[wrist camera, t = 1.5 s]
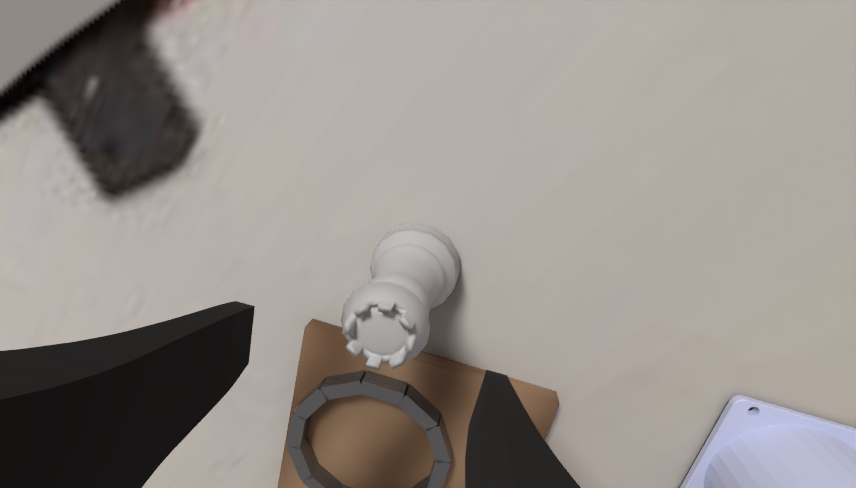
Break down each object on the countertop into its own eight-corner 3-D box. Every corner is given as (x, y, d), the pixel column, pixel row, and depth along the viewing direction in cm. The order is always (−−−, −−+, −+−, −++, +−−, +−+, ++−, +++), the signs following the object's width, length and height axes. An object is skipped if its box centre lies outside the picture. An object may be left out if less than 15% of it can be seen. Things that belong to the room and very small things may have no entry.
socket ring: (468, 400, 22) (467, 413, 21) (428, 522, 25) (425, 538, 24) (308, 352, 23) (300, 362, 22) (286, 476, 25) (278, 490, 24)
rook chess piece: (475, 243, 21) (467, 312, 13) (438, 315, 22) (412, 415, 14) (395, 205, 21) (340, 251, 13) (364, 279, 22) (297, 360, 14)
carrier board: (556, 391, 22) (559, 403, 21) (467, 609, 28) (466, 626, 27) (312, 318, 23) (304, 327, 22) (273, 543, 29) (265, 557, 28)
